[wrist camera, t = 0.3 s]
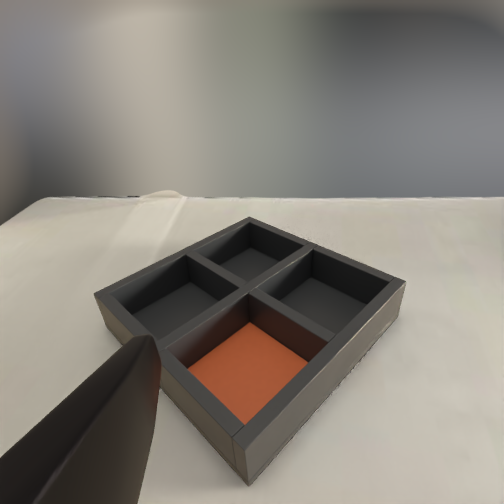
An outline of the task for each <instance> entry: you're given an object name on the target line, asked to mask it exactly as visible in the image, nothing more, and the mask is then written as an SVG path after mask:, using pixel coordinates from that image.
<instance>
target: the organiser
mask: <svg viewBox="0 0 504 504" xmlns="http://www.w3.org/2000/svg"><path fill="white" fill-rule="evenodd" d="M405 286H406V281H404V280H402V279H399V278H397V277H394V276H392V275H389V274H387V273H384V272H382V271H379V270H377V269H375V268H372V267H370V266H367V265H365V264H363V263H360V262H358V261H355V260H353V259H350V258H348V257H346V256H343V255H341V254H338V253H336V252H333V251H331V250H329V249H326V248H324V247H321V246H318V245H317V244H315V243H312V242H309V241H307V240H305V239H302V238H300V237H297V236H295V235H292V234H290V233H288V232H285V231H283V230H280V229H278V228H276V227H273V226H271V225H268V224H266V223H263V222H261V221H259V220H256V219H254V218H251V217H248V218H245V219H243V220H241V221H239V222H237V223H235V224H233V225H231V226H229V227H227V228H225V229H223V230H221V231H219V232H217V233H215V234H213V235H211V236H209V237H207V238H205V239H203V240H201V241H199V242H197V243H195V244H193V245H191V246H189V247H187V248H185V249H183V250H181V251H179V252H177V253H175V254H173V255H171V256H168V257H166V258H164V259H162V260H160V261H158V262H156V263H154V264H152V265H150V266H148V267H146V268H144V269H142V270H140V271H138V272H136V273H134V274H132V275H130V276H128V277H126V278H124V279H122V280H120V281H118V282H116V283H114V284H112V285H110V286H108V287H106V288H104V289H102V290H100V291H98V292H96V293H94V296H95V299H96V301H97V304H98V306H99V309H100V311H101V314H102V316H103V319H104V321H105V324H106V327H107V328H108V329H109V330H110V331H111V332H112V334H113V335H114V336H115V337H116V338H117V339H118V340H119V341H120V343H121V344H122V345H124V344H125V343H127V342H128V341H129V340H130V339H131V338H132V337H134V336H136V335H144V334H150V335H152V336H153V338H154V340H155V343H156V346H157V349H158V352H159V355H160V358H161V364H162V369H161V378H160V388H161V389H162V390H163V391H164V392H165V393H166V394H167V395H168V397H169V398H170V399H171V400H172V401H173V402H174V403H175V404H176V406H177V407H178V408H179V409H180V410H181V411H182V412H183V413H184V414H185V416H186V417H187V418H188V419H189V420H190V421H191V422H192V423H193V425H194V426H195V427H196V428H197V429H198V430H199V431H200V432H201V434H202V435H203V436H204V437H205V438H206V439H207V440H208V441H209V443H210V444H211V445H212V446H213V447H214V448H215V449H216V450H217V452H218V453H219V454H220V455H221V456H222V457H223V458H224V459H225V461H226V462H227V463H228V464H229V465H230V466H231V467H232V468H233V470H234V471H235V472H236V473H237V474H238V475H239V476H240V477H241V479H242V480H243V481H244V482H245V483H246V484H247V485H248V486H250V485H251V484H252V483H253V481H254V480H255V479H256V478H257V477H258V476H259V475H260V473H261V472H262V471H263V470H264V469H265V468H266V467H267V465H268V464H269V463H270V462H271V461H272V460H273V459H274V457H275V456H276V455H277V454H278V453H279V452H280V451H281V449H282V448H283V447H284V446H285V445H286V444H287V443H288V441H289V440H290V439H291V438H292V437H293V436H294V435H295V433H296V432H297V431H298V430H299V429H300V428H301V427H302V425H303V424H304V423H305V422H306V421H307V420H308V419H309V417H310V416H311V415H312V414H313V413H314V412H315V411H316V409H317V408H318V407H319V406H320V405H321V404H322V403H323V401H324V400H325V399H326V398H327V397H328V396H329V395H330V393H331V392H332V391H333V390H334V389H335V388H336V387H337V386H338V384H339V383H340V382H341V381H342V380H343V379H344V378H345V376H346V375H347V374H348V373H349V372H350V371H351V370H352V368H353V367H354V366H355V365H356V364H357V363H358V362H359V360H360V359H361V358H362V357H363V356H364V355H365V354H366V352H367V351H368V350H369V349H370V348H371V347H372V346H373V344H374V343H375V342H376V341H377V340H378V339H379V338H380V336H381V335H382V334H383V333H384V332H385V331H386V330H387V328H388V327H389V326H390V325H391V324H392V323H393V322H394V320H395V319H396V318H397V317H398V313H399V310H400V306H401V302H402V298H403V294H404V290H405Z"/></svg>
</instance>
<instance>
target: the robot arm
mask: <svg viewBox="0 0 504 504" xmlns="http://www.w3.org/2000/svg"><path fill="white" fill-rule="evenodd" d="M161 369H162V364H161V358H160V355H159V352H158V349H157V346H156V343H155V340H154V338H153V336H152V335H150V334H144V335H136V336H134V337H132V338H131V339H130V340H129V341H128V342H127V343H125V344H124V345H123V346H122V347H121V348H120V349H119V350H118V351H117V352H116V353H114V354H113V355H112V356H111V357H110V358H109V359H108V360H107V361H106V362H105V363H104V364H102V365H101V366H100V367H99V368H98V369H97V370H96V371H95V372H94V373H93V374H91V375H90V376H89V377H88V378H87V379H86V380H85V381H84V382H83V383H82V384H81V385H79V386H78V387H77V388H76V389H75V390H74V391H73V392H72V393H71V394H70V395H68V396H67V397H66V398H65V399H64V400H63V401H62V402H61V403H60V404H59V405H58V406H56V407H55V408H54V409H53V410H52V411H51V412H50V413H49V414H48V415H47V416H45V417H44V418H43V419H42V420H41V421H40V422H39V423H38V424H37V425H36V426H35V427H33V428H32V429H31V430H30V431H29V432H28V433H27V434H26V435H25V436H24V437H22V438H21V439H20V440H19V441H18V442H17V443H16V444H15V445H14V446H13V447H11V448H10V449H9V450H8V451H7V452H6V453H5V454H4V455H3V456H2V457H1V458H0V504H137V503H138V499H139V495H140V490H141V486H142V482H143V477H144V473H145V469H146V464H147V460H148V456H149V451H150V447H151V443H152V438H153V433H154V427H155V420H156V411H157V403H158V395H159V386H160V378H161Z"/></svg>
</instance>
